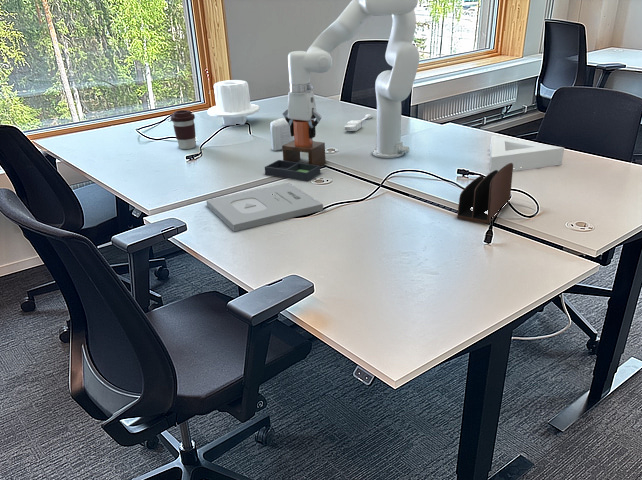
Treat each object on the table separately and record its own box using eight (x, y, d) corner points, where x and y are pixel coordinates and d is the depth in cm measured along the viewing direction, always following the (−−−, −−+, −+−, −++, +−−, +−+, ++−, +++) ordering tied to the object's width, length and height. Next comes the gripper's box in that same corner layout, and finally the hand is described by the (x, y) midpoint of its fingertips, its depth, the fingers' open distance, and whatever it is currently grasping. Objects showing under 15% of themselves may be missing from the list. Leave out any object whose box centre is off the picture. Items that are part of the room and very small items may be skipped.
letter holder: (509, 203, 185) (515, 159, 178) (488, 225, 171) (493, 178, 164) (479, 197, 190) (483, 155, 183) (456, 218, 175) (460, 173, 168)
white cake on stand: (257, 128, 276) (253, 87, 267) (205, 130, 277) (199, 88, 267) (263, 116, 298) (260, 77, 288) (215, 117, 298) (209, 78, 289)
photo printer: (291, 145, 250) (289, 115, 244) (296, 147, 247) (294, 117, 241) (270, 149, 245) (267, 119, 239) (275, 151, 242) (272, 121, 236)
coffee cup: (171, 149, 250) (164, 113, 242) (184, 143, 258) (178, 108, 250) (190, 151, 247) (184, 115, 239) (203, 144, 254) (198, 109, 247)
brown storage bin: (325, 163, 227) (324, 142, 223) (312, 170, 219) (311, 149, 215) (297, 159, 233) (296, 139, 228) (283, 166, 225) (282, 145, 221)
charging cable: (374, 119, 289) (374, 112, 288) (353, 132, 263) (353, 125, 261) (364, 118, 291) (364, 111, 289) (343, 132, 264) (343, 124, 263)
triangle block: (561, 164, 217) (564, 147, 213) (528, 183, 200) (530, 165, 197) (489, 150, 235) (491, 134, 231) (454, 166, 218) (455, 149, 215)
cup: (315, 142, 223) (314, 118, 219) (306, 147, 218) (304, 123, 213) (300, 140, 226) (299, 117, 221) (291, 145, 221) (289, 121, 216)
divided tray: (320, 173, 216) (320, 165, 214) (307, 181, 209) (306, 173, 207) (279, 167, 224) (278, 159, 222) (265, 174, 217) (264, 166, 215)
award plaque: (323, 210, 184) (322, 203, 183) (234, 231, 172) (233, 224, 171) (289, 188, 203) (288, 182, 202) (207, 206, 191) (206, 199, 190)
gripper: (326, 87, 211) (327, 136, 220) (285, 84, 218) (289, 132, 227) (315, 91, 205) (317, 141, 214) (274, 88, 213) (278, 136, 221)
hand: (303, 136), depth 220 cm, fingers open, 7 cm apart
